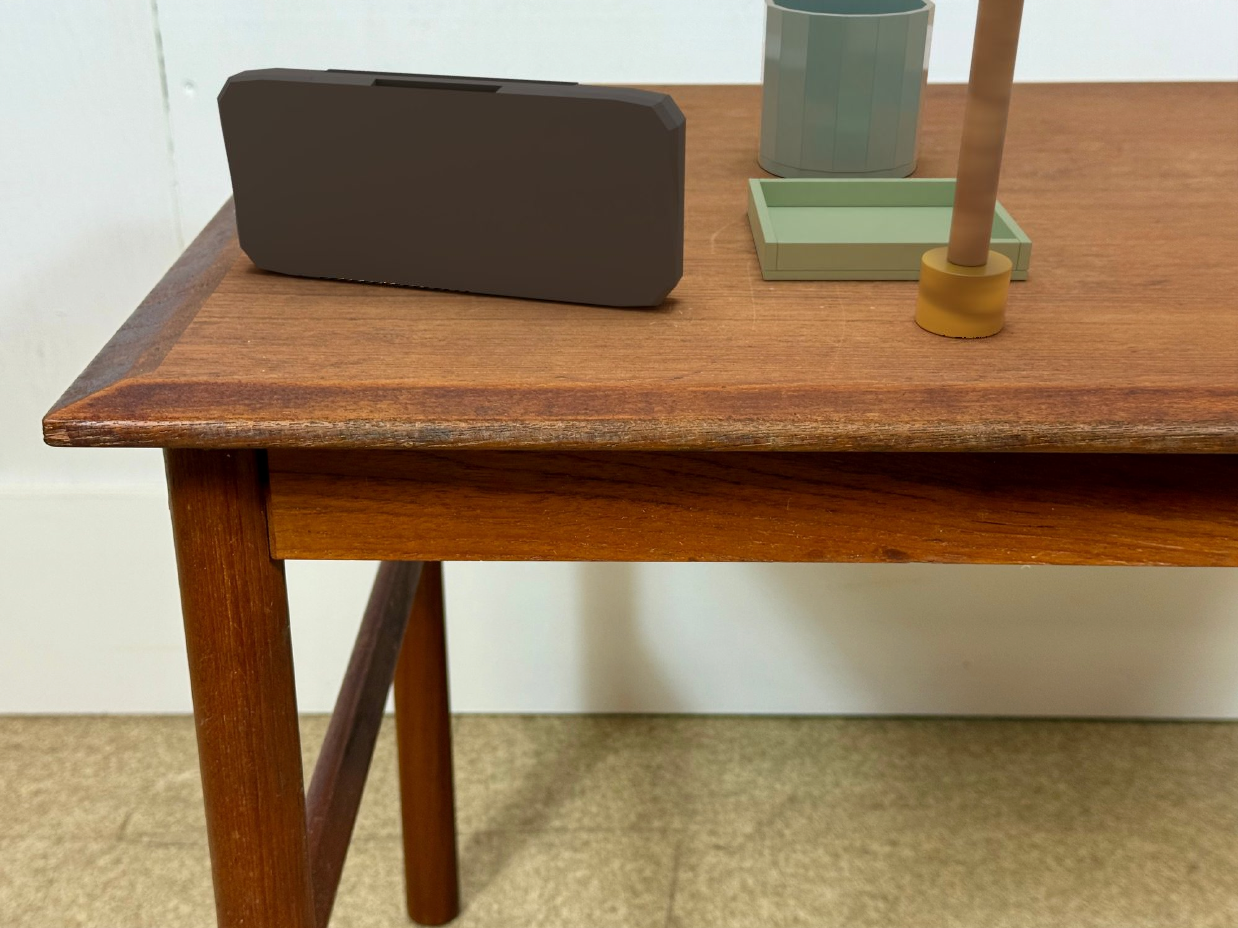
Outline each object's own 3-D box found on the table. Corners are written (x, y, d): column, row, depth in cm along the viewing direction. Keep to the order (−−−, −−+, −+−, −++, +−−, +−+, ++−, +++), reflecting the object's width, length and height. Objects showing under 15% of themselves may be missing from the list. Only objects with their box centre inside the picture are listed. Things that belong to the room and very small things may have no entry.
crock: (900, 142, 87) (916, -12, 82) (930, 185, 78) (950, 15, 73) (752, 143, 87) (758, -11, 82) (764, 185, 78) (773, 16, 73)
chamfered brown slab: (686, 294, 62) (690, 86, 57) (673, 314, 60) (677, 99, 55) (265, 255, 67) (237, 62, 63) (238, 272, 65) (207, 73, 60)
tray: (975, 211, 73) (979, 178, 72) (1027, 280, 64) (1032, 242, 63) (746, 212, 74) (748, 178, 73) (763, 280, 64) (765, 242, 63)
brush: (991, 305, 61) (1051, -105, 52) (1012, 338, 57) (1081, -96, 48) (907, 305, 61) (953, -105, 52) (923, 338, 57) (976, -95, 49)
